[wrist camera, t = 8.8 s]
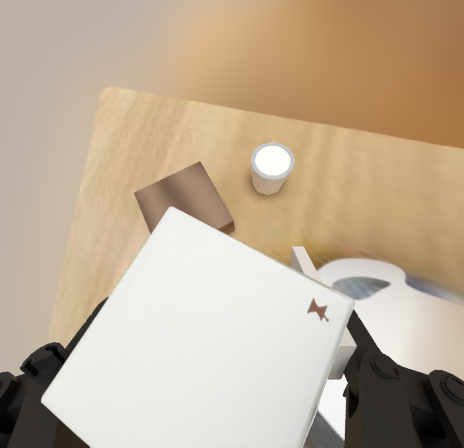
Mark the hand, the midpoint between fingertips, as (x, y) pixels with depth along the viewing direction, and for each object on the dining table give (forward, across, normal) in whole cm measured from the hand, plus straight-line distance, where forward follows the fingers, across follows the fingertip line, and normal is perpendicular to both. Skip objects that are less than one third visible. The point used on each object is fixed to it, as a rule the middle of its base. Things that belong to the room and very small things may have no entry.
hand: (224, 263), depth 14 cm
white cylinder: (+25, +7, -2) cm, 26 cm away
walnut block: (+20, -8, -6) cm, 23 cm away
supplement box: (+1, 0, -6) cm, 6 cm away
